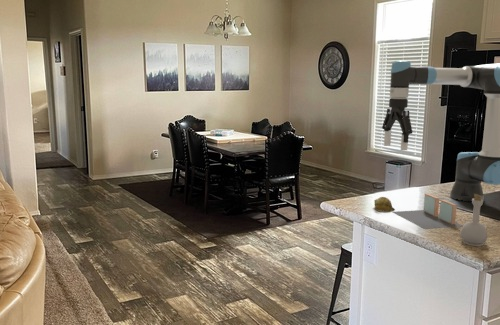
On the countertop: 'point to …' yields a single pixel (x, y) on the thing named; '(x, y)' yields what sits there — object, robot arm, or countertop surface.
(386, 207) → the seashell
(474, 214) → the potion bottle
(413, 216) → the mat
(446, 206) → the tile
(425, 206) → the tile
